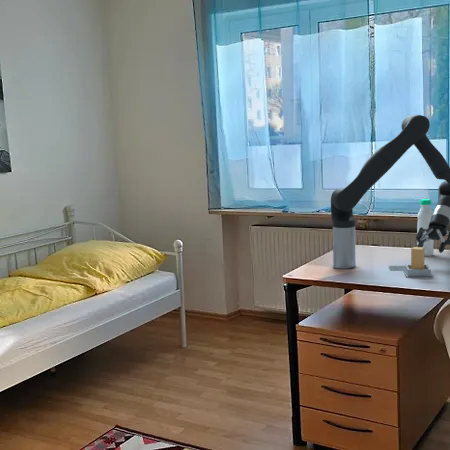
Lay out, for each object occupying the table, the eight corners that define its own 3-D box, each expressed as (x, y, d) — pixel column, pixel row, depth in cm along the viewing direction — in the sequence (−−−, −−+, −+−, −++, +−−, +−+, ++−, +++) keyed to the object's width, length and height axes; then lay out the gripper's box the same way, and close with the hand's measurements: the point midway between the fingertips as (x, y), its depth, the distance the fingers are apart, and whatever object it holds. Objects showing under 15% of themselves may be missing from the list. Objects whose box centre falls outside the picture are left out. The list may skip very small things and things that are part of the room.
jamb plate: (390, 271, 260) (390, 270, 260) (388, 266, 269) (388, 265, 269) (420, 271, 258) (420, 270, 258) (418, 266, 267) (418, 265, 267)
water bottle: (434, 256, 285) (434, 200, 282) (417, 256, 287) (418, 200, 283) (432, 253, 292) (433, 198, 289) (416, 253, 294) (416, 198, 290)
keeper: (405, 278, 248) (405, 269, 248) (403, 272, 258) (403, 264, 257) (432, 278, 246) (432, 269, 246) (429, 272, 256) (429, 264, 256)
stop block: (411, 273, 251) (411, 248, 250) (414, 271, 255) (414, 246, 253) (421, 274, 249) (421, 249, 248) (424, 272, 253) (424, 247, 251)
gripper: (421, 212, 268) (410, 244, 262) (455, 214, 259) (444, 247, 252) (426, 223, 273) (415, 254, 266) (460, 225, 264) (449, 257, 257)
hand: (429, 250), depth 259 cm, fingers open, 8 cm apart
